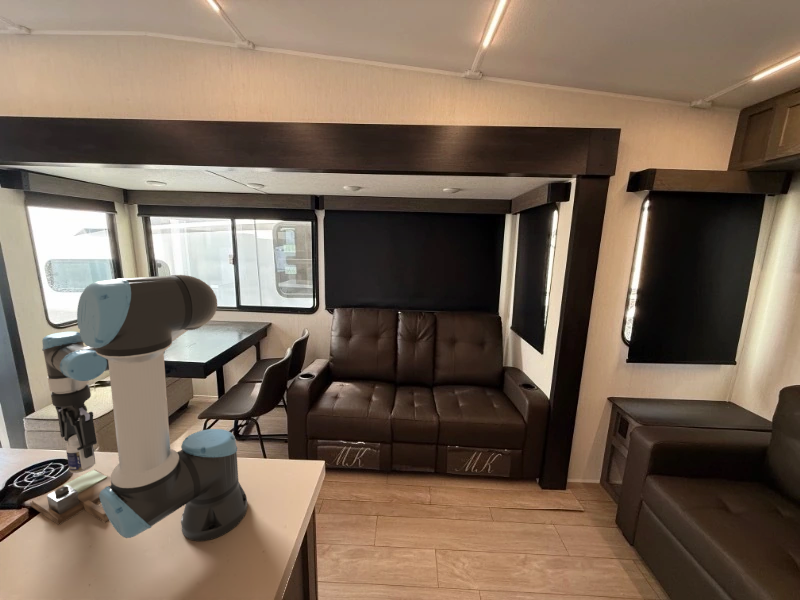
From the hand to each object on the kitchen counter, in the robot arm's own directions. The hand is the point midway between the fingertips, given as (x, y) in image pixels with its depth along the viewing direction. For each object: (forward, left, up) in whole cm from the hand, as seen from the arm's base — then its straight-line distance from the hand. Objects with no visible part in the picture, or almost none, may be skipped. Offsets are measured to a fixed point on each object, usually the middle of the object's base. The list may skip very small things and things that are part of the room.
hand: (82, 462), depth 93 cm
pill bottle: (0, 0, -2) cm, 2 cm away
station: (-8, +3, -7) cm, 11 cm away
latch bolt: (-6, +7, -6) cm, 11 cm away
